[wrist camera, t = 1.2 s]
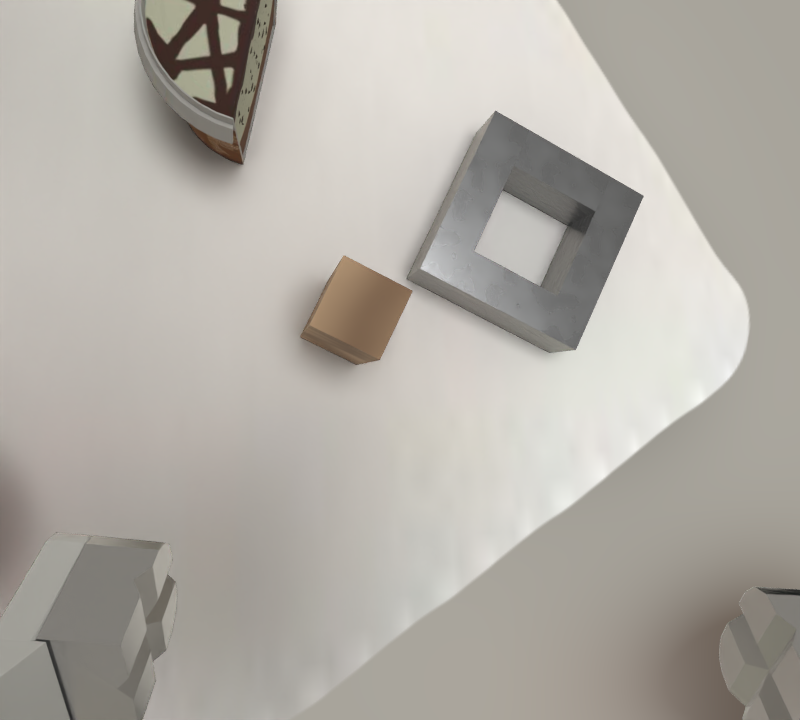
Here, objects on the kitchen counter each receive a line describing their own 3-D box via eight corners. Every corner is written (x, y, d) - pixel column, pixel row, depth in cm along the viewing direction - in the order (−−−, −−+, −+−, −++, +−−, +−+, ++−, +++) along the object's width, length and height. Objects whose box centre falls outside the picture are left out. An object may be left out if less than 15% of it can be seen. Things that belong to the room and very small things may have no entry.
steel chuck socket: (406, 278, 45) (420, 268, 41) (475, 133, 46) (495, 110, 42) (549, 352, 47) (575, 349, 43) (612, 211, 48) (643, 195, 44)
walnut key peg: (300, 337, 44) (309, 325, 35) (327, 281, 44) (343, 255, 35) (356, 364, 44) (379, 359, 36) (383, 309, 45) (412, 290, 36)
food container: (182, -28, 43) (158, -149, 33) (280, 2, 44) (285, -106, 34) (137, 161, 42) (98, 93, 32) (238, 187, 43) (230, 129, 34)
